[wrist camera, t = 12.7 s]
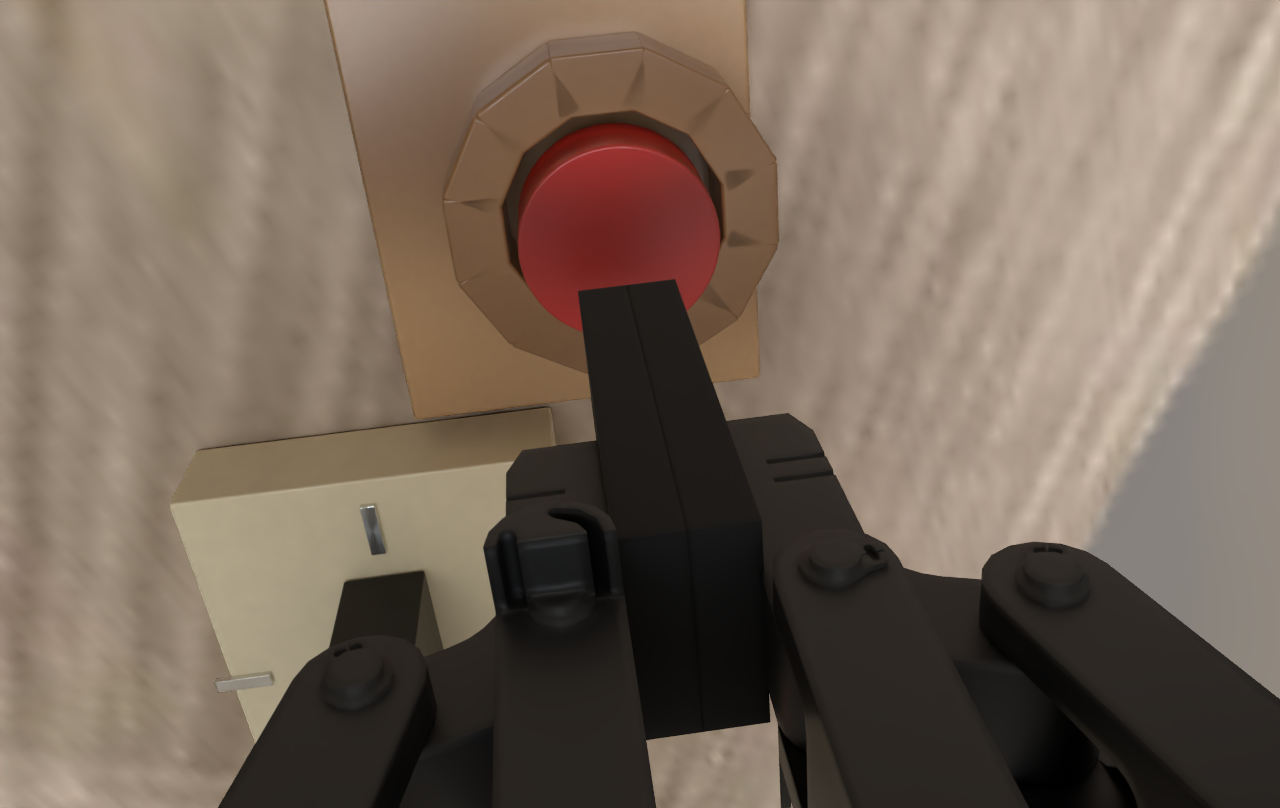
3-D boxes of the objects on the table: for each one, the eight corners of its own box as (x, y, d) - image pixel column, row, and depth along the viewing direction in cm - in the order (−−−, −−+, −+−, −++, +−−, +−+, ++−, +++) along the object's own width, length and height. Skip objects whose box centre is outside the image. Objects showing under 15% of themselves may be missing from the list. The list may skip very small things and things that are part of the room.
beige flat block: (607, 718, 33) (614, 786, 31) (288, 761, 33) (270, 833, 30) (563, 404, 28) (568, 458, 25) (182, 451, 27) (150, 510, 25)
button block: (759, 355, 28) (784, 412, 25) (418, 397, 27) (407, 459, 25) (743, -69, 23) (772, -54, 20) (328, -25, 22) (302, -4, 20)
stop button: (712, 294, 24) (725, 326, 22) (531, 315, 24) (532, 350, 22) (701, 111, 22) (714, 133, 20) (504, 133, 22) (503, 157, 20)
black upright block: (463, 731, 29) (444, 1029, 22) (389, 741, 29) (346, 1044, 22) (424, 569, 27) (388, 848, 19) (343, 580, 26) (276, 865, 19)
